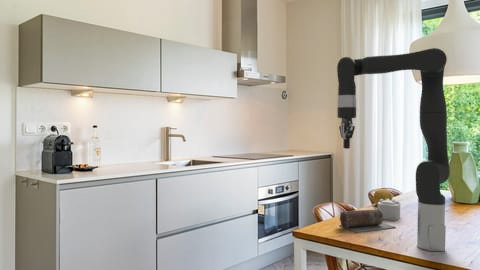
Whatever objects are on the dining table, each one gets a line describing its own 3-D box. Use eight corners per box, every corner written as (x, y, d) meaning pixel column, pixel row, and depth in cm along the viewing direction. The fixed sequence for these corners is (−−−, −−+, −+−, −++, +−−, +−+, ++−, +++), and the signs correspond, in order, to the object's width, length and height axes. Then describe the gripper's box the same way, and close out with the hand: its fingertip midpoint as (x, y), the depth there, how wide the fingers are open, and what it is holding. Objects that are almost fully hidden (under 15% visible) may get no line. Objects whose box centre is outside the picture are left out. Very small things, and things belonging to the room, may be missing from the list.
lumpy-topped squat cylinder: (375, 217, 192) (376, 200, 192) (381, 213, 203) (381, 196, 203) (397, 220, 187) (398, 203, 186) (402, 215, 198) (402, 198, 197)
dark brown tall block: (336, 212, 175) (372, 210, 181) (339, 229, 172) (376, 226, 178) (345, 210, 168) (382, 207, 174) (348, 226, 165) (386, 224, 171)
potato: (371, 206, 219) (371, 189, 219) (374, 202, 230) (375, 186, 230) (390, 208, 214) (390, 190, 214) (393, 204, 225) (393, 187, 225)
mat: (356, 232, 164) (356, 231, 164) (339, 225, 175) (339, 224, 175) (395, 228, 173) (395, 226, 173) (376, 221, 184) (376, 220, 184)
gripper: (361, 105, 151) (361, 149, 151) (350, 107, 164) (349, 147, 164) (343, 105, 150) (342, 149, 151) (333, 107, 164) (332, 147, 164)
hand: (346, 148), depth 157 cm, fingers closed
